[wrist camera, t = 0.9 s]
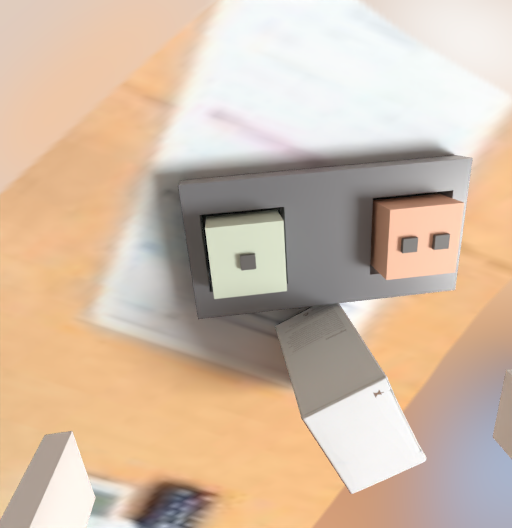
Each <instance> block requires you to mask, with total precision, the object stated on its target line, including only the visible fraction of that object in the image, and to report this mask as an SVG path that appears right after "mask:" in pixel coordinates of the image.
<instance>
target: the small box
mask: <svg viewBox="0 0 512 528" xmlns="http://www.w3.org/2000/svg"><path fill="white" fill-rule="evenodd" d="M275 328H276V331H277V335H278V338H279V342H280V345H281V349H282V352H283V356H284V359H285V362H286V366H287V369H288V373H289V376H290V380H291V383H292V386H293V390H294V393H295V397H296V400H297V404H298V407H299V411H300V414H301V418H302V420H303V421H304V423H305V425H306V426H307V428H308V429H309V431H310V432H311V434H312V435H313V437H314V438H315V440H316V441H317V443H318V444H319V446H320V447H321V449H322V451H323V452H324V454H325V455H326V457H327V458H328V460H329V461H330V463H331V464H332V466H333V467H334V469H335V470H336V472H337V473H338V475H339V477H340V478H341V480H342V481H343V483H344V484H345V486H346V487H347V489H348V490H349V492H350V493H351V494H353V493H355V492H358V491H360V490H363V489H365V488H367V487H369V486H372V485H374V484H376V483H378V482H381V481H383V480H385V479H387V478H389V477H392V476H394V475H396V474H398V473H401V472H403V471H405V470H407V469H409V468H412V467H414V466H416V465H418V464H420V463H422V462H424V461H426V456H425V454H424V452H423V451H422V449H421V447H420V446H419V444H418V442H417V440H416V438H415V436H414V434H413V432H412V430H411V428H410V426H409V424H408V422H407V420H406V418H405V416H404V414H403V412H402V410H401V408H400V406H399V403H398V401H397V399H396V397H395V395H394V393H393V390H392V388H391V385H390V383H389V381H388V378H387V376H386V375H385V373H384V372H383V370H382V369H381V367H380V366H379V364H378V363H377V361H376V360H375V358H374V356H373V355H372V353H371V352H370V350H369V349H368V347H367V346H366V344H365V342H364V341H363V339H362V338H361V336H360V335H359V333H358V332H357V330H356V328H355V327H354V325H353V324H352V322H351V321H350V319H349V318H348V316H347V315H346V313H345V312H344V310H343V309H342V307H341V306H340V304H339V303H335V304H326V305H318V306H313V307H311V308H309V309H308V310H306V311H304V312H302V313H300V314H298V315H296V316H294V317H292V318H290V319H288V320H286V321H284V322H282V323H280V324H279V325H276V327H275Z"/></svg>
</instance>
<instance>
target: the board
mask: <svg viewBox="0 0 512 528" xmlns="http://www.w3.org/2000/svg"><path fill="white" fill-rule="evenodd" d="M471 166H472V158H469V157H463V156H457V155H452V156H441V157H430V158H419V159H408V160H397V161H386V162H375V163H364V164H353V165H343V166H332V167H321V168H310V169H299V170H288V171H277V172H266V173H255V174H244V175H233V176H222V177H211V178H200V179H190V180H181V181H180V183H179V185H178V188H179V195H180V201H181V208H182V215H183V221H184V228H185V234H186V241H187V248H188V254H189V261H190V267H191V274H192V281H193V287H194V294H195V300H196V307H197V314H198V319H203V318H212V317H221V316H229V315H238V314H247V313H256V312H265V311H273V310H282V309H291V308H300V307H309V306H318V305H326V304H335V303H344V302H353V301H362V300H370V299H379V298H388V297H397V296H406V295H414V294H423V293H432V292H441V291H450V290H455V286H456V279H457V271H458V264H459V256H460V249H461V241H462V234H463V226H464V219H465V211H466V203H467V196H468V188H469V181H470V173H471ZM431 192H437V194H442V195H445V196H447V197H450V198H453V199H456V200H458V201H461V202H464V209H463V217H462V224H461V232H460V240H459V247H458V255H457V263H456V270H455V273H446V274H437V275H428V276H419V277H410V278H401V279H392V280H386V279H385V278H384V277H383V276H382V275H381V274H380V273H379V272H378V271H376V270H375V269H374V268H373V267H372V266H371V265H370V257H371V232H372V207H373V198H379V197H390V196H400V195H410V194H421V193H431ZM277 207H280V213H281V217H282V219H283V221H284V240H285V260H286V280H287V291H283V292H274V293H265V294H256V295H247V296H238V297H229V298H220V299H214V293H213V286H212V281H210V277H209V269H208V262H207V254H206V246H205V239H204V231H203V224H202V216H201V215H205V214H215V213H225V212H235V211H246V210H256V209H266V208H277Z"/></svg>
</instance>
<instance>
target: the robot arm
mask: <svg viewBox="0 0 512 528" xmlns="http://www.w3.org/2000/svg"><path fill="white" fill-rule="evenodd" d="M493 438H494V439H495V440H496V441H497V443H498V444H499V445H500V446H501V447H502V448H503V450H504V451H505V452H506V453H507V454H508V455H509V457H510V458H511V459H512V369H509V370H506V373H505V378H504V383H503V388H502V393H501V398H500V403H499V408H498V413H497V418H496V423H495V428H494V433H493ZM94 501H95V496H94V493H93V490H92V487H91V484H90V481H89V478H88V475H87V472H86V469H85V467H84V464H83V461H82V458H81V455H80V452H79V449H78V446H77V443H76V440H75V437H74V435H73V432H72V431H69V432H62V433H55V434H48V435H45V436H44V437H43V439H42V441H41V443H40V445H39V447H38V449H37V451H36V453H35V455H34V457H33V458H32V460H31V462H30V464H29V466H28V468H27V470H26V472H25V474H24V476H23V478H22V479H21V481H20V483H19V485H18V487H17V489H16V491H15V493H14V495H13V497H12V499H11V501H10V502H9V504H8V506H7V508H6V510H5V512H4V514H3V516H2V518H1V520H0V528H86V527H87V523H88V520H89V517H90V514H91V510H92V507H93V504H94Z"/></svg>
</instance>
